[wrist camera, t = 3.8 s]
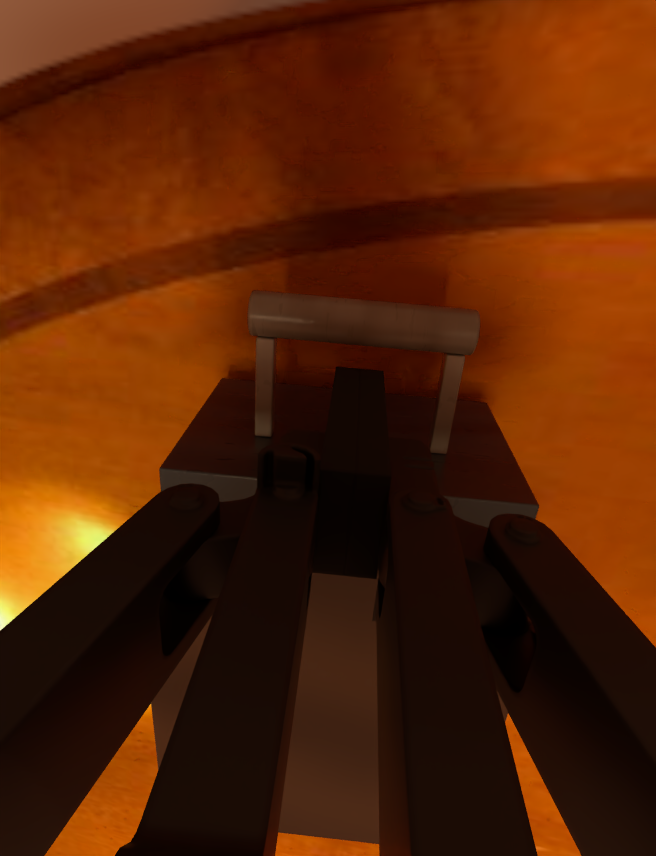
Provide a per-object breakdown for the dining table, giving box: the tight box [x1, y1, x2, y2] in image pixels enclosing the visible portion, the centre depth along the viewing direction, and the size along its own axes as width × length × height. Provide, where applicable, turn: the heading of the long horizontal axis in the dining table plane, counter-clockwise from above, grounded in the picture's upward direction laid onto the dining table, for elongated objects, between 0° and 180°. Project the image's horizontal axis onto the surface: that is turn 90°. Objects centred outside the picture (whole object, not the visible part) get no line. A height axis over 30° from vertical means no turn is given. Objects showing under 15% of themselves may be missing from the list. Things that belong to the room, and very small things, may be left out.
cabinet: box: [151, 571, 508, 844], centre depth 24 cm, size 15×13×10 cm
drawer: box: [159, 290, 539, 528], centre depth 21 cm, size 18×11×8 cm, turn 176°
